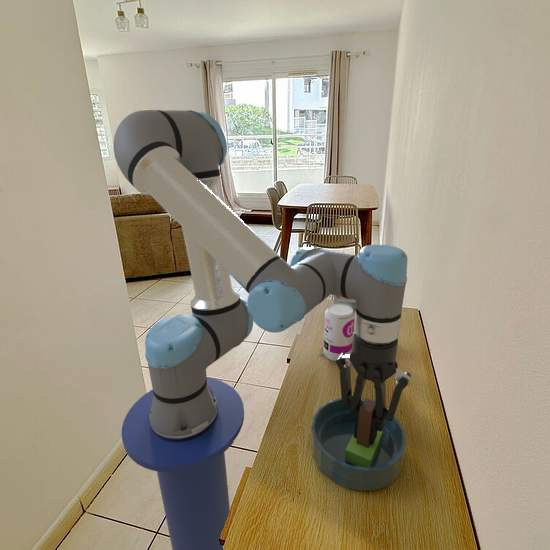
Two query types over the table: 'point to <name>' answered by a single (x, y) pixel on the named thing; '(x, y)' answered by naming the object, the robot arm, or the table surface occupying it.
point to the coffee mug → (345, 302)
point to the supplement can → (338, 331)
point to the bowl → (335, 438)
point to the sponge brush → (364, 438)
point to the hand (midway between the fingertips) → (365, 436)
